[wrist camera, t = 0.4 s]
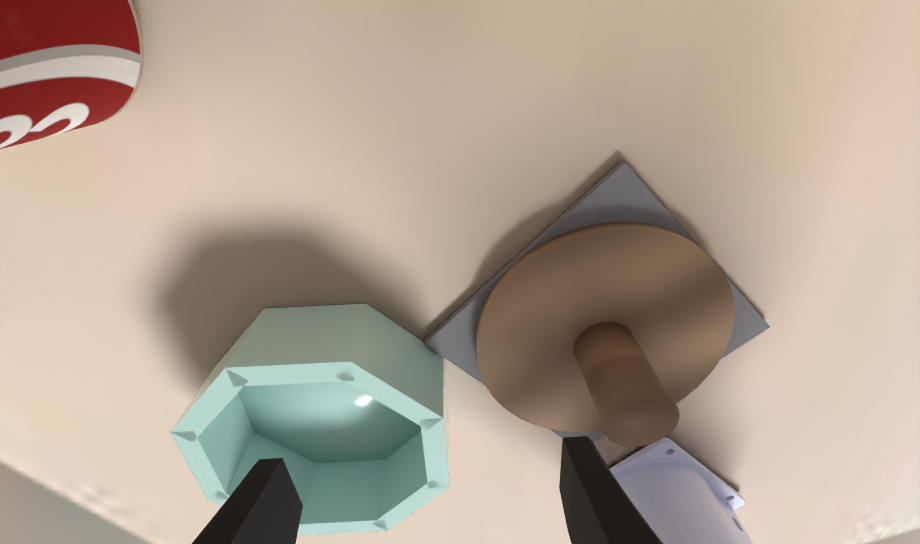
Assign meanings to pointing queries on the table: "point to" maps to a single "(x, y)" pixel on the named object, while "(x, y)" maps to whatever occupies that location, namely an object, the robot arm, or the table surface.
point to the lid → (605, 330)
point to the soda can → (65, 65)
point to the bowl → (325, 416)
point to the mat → (602, 203)
